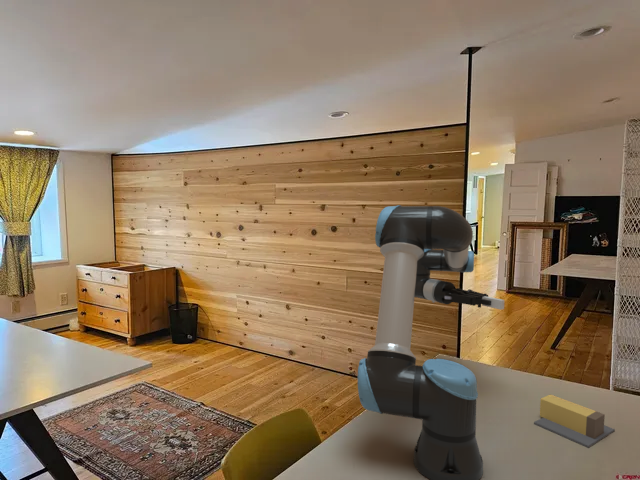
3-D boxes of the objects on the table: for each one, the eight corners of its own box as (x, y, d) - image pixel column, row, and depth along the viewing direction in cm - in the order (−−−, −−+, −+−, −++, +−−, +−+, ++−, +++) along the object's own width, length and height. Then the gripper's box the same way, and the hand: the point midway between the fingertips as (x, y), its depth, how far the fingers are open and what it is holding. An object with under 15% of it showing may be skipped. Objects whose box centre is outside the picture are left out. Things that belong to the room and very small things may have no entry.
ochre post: (539, 416, 120) (594, 438, 108) (540, 398, 119) (595, 419, 108) (549, 411, 122) (603, 433, 111) (550, 394, 122) (604, 414, 110)
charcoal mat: (588, 447, 105) (588, 445, 105) (533, 423, 116) (533, 422, 116) (614, 431, 113) (614, 429, 113) (561, 410, 124) (561, 408, 124)
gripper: (452, 300, 151) (515, 314, 131) (426, 304, 143) (488, 320, 124) (453, 278, 150) (516, 290, 130) (427, 282, 143) (489, 294, 123)
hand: (502, 304), depth 127 cm, fingers closed
